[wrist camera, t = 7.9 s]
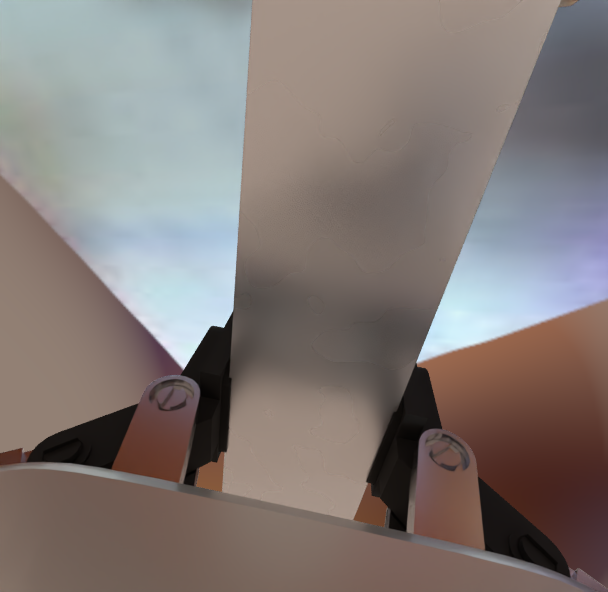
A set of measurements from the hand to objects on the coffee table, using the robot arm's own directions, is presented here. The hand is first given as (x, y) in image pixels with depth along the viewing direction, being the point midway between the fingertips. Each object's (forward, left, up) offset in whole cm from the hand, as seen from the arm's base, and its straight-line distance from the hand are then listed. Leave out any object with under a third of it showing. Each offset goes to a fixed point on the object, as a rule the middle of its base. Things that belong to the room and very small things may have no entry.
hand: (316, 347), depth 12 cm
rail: (0, 0, 0) cm, 0 cm away
